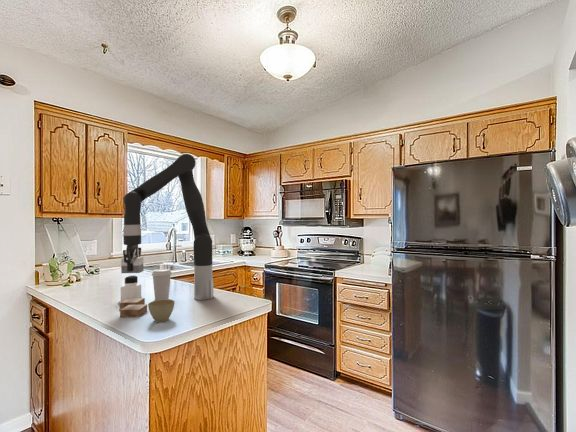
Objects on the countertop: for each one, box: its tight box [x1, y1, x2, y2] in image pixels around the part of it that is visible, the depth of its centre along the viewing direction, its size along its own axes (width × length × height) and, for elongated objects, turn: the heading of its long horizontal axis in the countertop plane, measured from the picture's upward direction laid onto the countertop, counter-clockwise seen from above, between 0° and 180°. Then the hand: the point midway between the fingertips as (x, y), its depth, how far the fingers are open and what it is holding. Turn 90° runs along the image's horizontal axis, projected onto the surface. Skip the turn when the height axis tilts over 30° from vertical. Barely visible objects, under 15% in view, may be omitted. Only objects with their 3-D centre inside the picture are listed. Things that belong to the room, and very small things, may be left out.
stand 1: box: [119, 297, 146, 310], centre depth 147 cm, size 8×8×3 cm
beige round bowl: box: [147, 299, 175, 323], centre depth 127 cm, size 10×10×7 cm
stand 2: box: [119, 303, 148, 318], centre depth 135 cm, size 8×8×3 cm
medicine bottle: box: [119, 275, 142, 302], centre depth 160 cm, size 7×7×12 cm
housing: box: [120, 256, 144, 274], centre depth 146 cm, size 8×5×8 cm, turn 92°
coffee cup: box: [151, 268, 172, 301], centre depth 160 cm, size 10×10×15 cm
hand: (132, 270), depth 146 cm, fingers closed on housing, 5 cm apart
